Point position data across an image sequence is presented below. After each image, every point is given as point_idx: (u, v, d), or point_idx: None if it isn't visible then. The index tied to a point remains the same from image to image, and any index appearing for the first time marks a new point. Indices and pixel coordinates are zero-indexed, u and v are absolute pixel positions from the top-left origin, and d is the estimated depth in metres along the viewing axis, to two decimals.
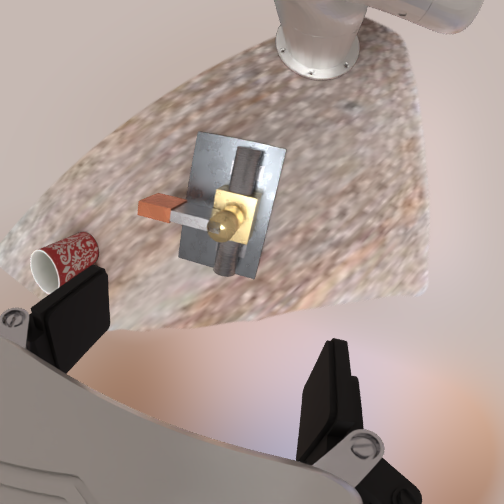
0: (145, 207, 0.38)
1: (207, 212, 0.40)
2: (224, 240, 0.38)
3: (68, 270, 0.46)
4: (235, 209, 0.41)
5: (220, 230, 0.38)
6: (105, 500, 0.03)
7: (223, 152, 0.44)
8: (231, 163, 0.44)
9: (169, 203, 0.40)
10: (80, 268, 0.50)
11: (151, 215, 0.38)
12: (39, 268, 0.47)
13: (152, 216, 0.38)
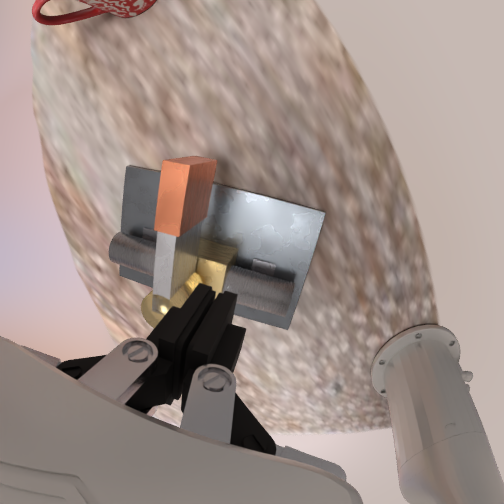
0: (178, 179, 0.19)
1: (185, 271, 0.25)
2: (145, 315, 0.23)
3: None
4: None
5: (157, 313, 0.23)
6: (105, 501, 0.03)
7: (287, 250, 0.30)
8: (270, 261, 0.31)
9: (193, 211, 0.22)
10: (90, 4, 0.18)
11: (163, 193, 0.19)
12: None
13: (161, 195, 0.19)
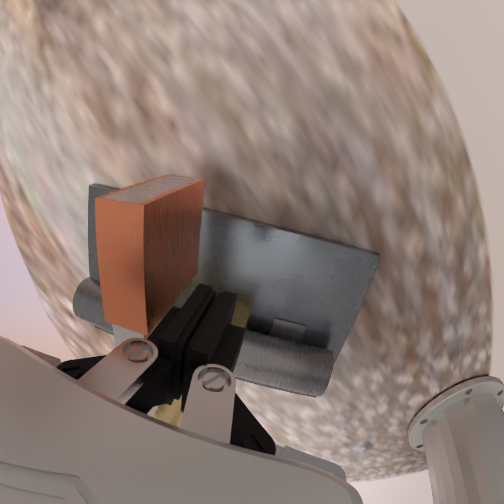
0: (127, 233, 0.09)
1: None
2: None
3: None
4: None
5: None
6: (105, 500, 0.03)
7: (323, 308, 0.20)
8: (298, 322, 0.21)
9: (170, 279, 0.12)
10: None
11: (106, 261, 0.10)
12: None
13: (104, 265, 0.10)
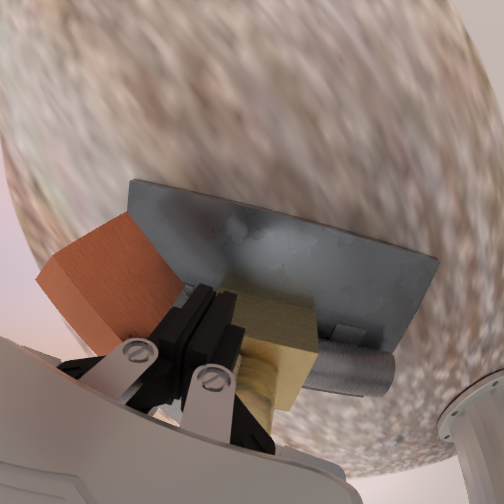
0: (63, 284, 0.10)
1: None
2: None
3: None
4: (274, 390, 0.16)
5: None
6: (105, 501, 0.03)
7: (384, 311, 0.20)
8: (359, 326, 0.20)
9: (138, 301, 0.12)
10: None
11: (71, 318, 0.10)
12: None
13: (73, 322, 0.10)
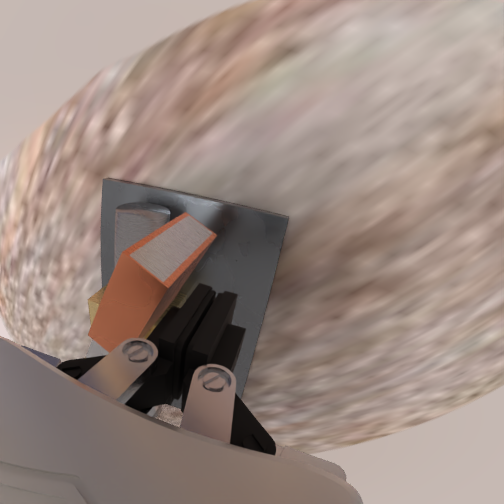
0: (142, 295, 0.10)
1: None
2: None
3: None
4: None
5: None
6: (105, 500, 0.03)
7: None
8: None
9: (154, 319, 0.13)
10: None
11: (111, 302, 0.10)
12: None
13: (108, 303, 0.10)
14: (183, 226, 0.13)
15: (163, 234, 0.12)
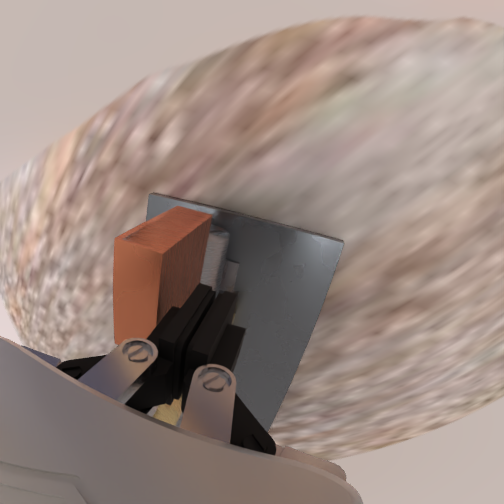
0: (144, 274, 0.10)
1: None
2: None
3: None
4: None
5: None
6: (105, 501, 0.03)
7: None
8: None
9: None
10: None
11: (121, 294, 0.11)
12: None
13: (119, 297, 0.11)
14: (176, 214, 0.14)
15: (155, 221, 0.12)
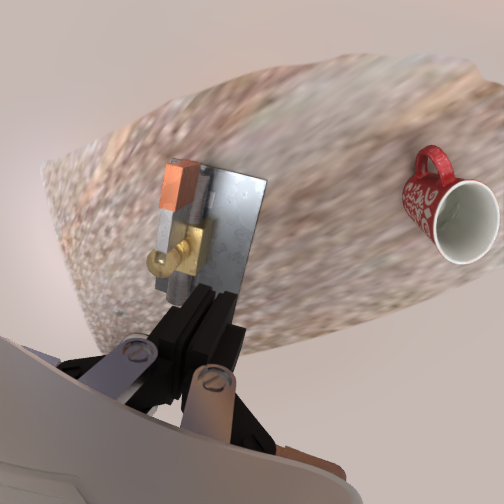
0: (175, 175, 0.30)
1: (178, 237, 0.36)
2: (149, 266, 0.35)
3: (426, 208, 0.27)
4: None
5: (157, 264, 0.35)
6: (105, 501, 0.03)
7: None
8: (199, 282, 0.47)
9: (184, 196, 0.33)
10: (420, 190, 0.30)
11: (166, 184, 0.31)
12: (486, 220, 0.25)
13: (165, 185, 0.31)
14: (186, 161, 0.34)
15: (179, 162, 0.32)
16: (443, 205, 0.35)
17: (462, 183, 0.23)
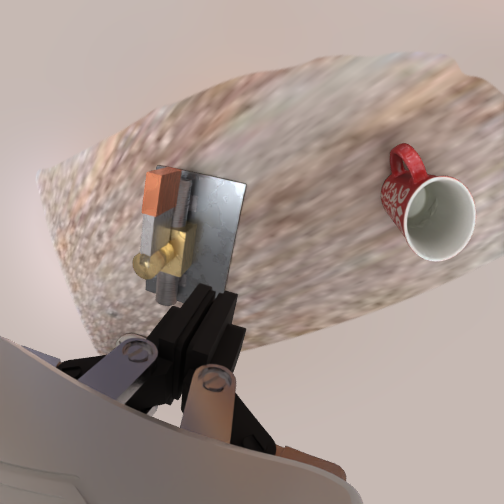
0: (155, 183, 0.32)
1: (161, 240, 0.38)
2: (135, 268, 0.37)
3: (399, 206, 0.29)
4: None
5: (142, 266, 0.36)
6: (105, 500, 0.03)
7: None
8: (186, 283, 0.48)
9: (165, 202, 0.35)
10: (395, 189, 0.32)
11: (147, 191, 0.33)
12: (462, 216, 0.26)
13: (146, 192, 0.33)
14: (167, 168, 0.36)
15: (159, 170, 0.34)
16: (423, 202, 0.36)
17: (433, 180, 0.24)
